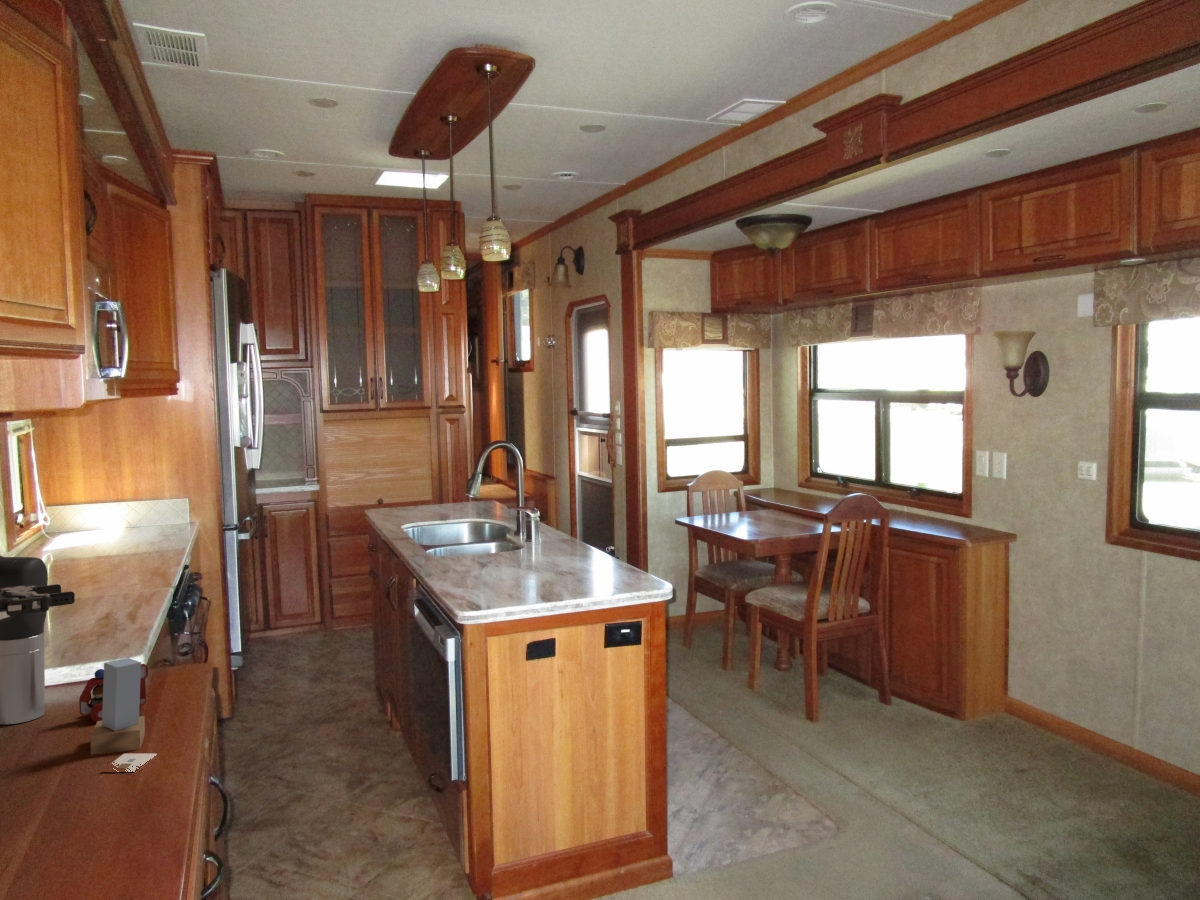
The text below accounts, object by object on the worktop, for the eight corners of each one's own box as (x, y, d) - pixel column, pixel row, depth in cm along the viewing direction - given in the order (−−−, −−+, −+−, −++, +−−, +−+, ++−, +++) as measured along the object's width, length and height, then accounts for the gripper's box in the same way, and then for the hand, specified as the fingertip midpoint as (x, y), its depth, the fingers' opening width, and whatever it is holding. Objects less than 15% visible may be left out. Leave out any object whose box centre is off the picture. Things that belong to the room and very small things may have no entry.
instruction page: (99, 773, 146) (99, 771, 146) (124, 754, 154) (124, 752, 154) (134, 773, 146) (134, 771, 146) (157, 754, 154) (156, 753, 154)
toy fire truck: (79, 716, 173) (78, 667, 173) (147, 705, 180) (146, 658, 179) (79, 727, 167) (78, 676, 167) (149, 715, 174) (149, 666, 174)
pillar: (114, 730, 156) (117, 667, 155) (101, 725, 158) (104, 662, 158) (138, 724, 160) (141, 662, 159) (125, 718, 162) (127, 657, 161)
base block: (90, 757, 154) (90, 735, 153) (98, 741, 161) (97, 721, 161) (140, 750, 157) (139, 729, 157) (144, 735, 164) (144, 715, 164)
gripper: (-35, 592, 136) (78, 578, 148) (-52, 579, 146) (55, 567, 158) (-34, 637, 136) (79, 620, 148) (-51, 621, 146) (56, 607, 158)
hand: (67, 593), depth 153 cm, fingers open, 8 cm apart
